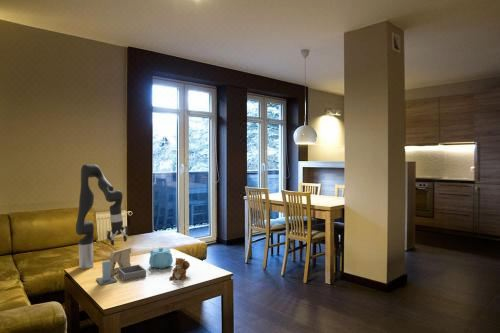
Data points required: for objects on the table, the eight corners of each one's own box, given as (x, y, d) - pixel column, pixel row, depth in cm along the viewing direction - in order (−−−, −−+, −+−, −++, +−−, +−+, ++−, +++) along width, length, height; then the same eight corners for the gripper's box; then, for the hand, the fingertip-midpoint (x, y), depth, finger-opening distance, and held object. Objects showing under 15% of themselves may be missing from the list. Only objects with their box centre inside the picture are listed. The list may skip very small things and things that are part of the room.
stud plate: (96, 280, 225) (96, 274, 225) (112, 276, 231) (112, 271, 231) (100, 285, 215) (100, 279, 215) (117, 281, 221) (117, 275, 221)
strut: (102, 279, 224) (102, 261, 224) (109, 277, 226) (108, 260, 226) (104, 280, 220) (103, 262, 220) (110, 279, 223) (110, 261, 223)
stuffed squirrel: (168, 280, 223) (167, 259, 223) (178, 273, 237) (178, 253, 236) (182, 281, 220) (182, 260, 220) (192, 274, 234) (191, 254, 234)
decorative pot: (173, 262, 262) (172, 244, 261) (172, 269, 246) (172, 249, 245) (150, 264, 259) (150, 245, 258) (148, 270, 243) (148, 251, 243)
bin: (118, 275, 235) (118, 268, 234) (139, 271, 243) (139, 264, 242) (124, 281, 222) (124, 274, 222) (146, 276, 230) (146, 270, 230)
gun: (111, 276, 232) (112, 253, 233) (107, 275, 233) (107, 253, 234) (131, 268, 256) (131, 247, 257) (126, 267, 257) (127, 247, 258)
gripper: (123, 216, 242) (126, 239, 244) (103, 221, 232) (106, 245, 234) (129, 218, 237) (131, 241, 239) (108, 223, 226) (111, 247, 229)
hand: (119, 243), depth 236 cm, fingers open, 8 cm apart
